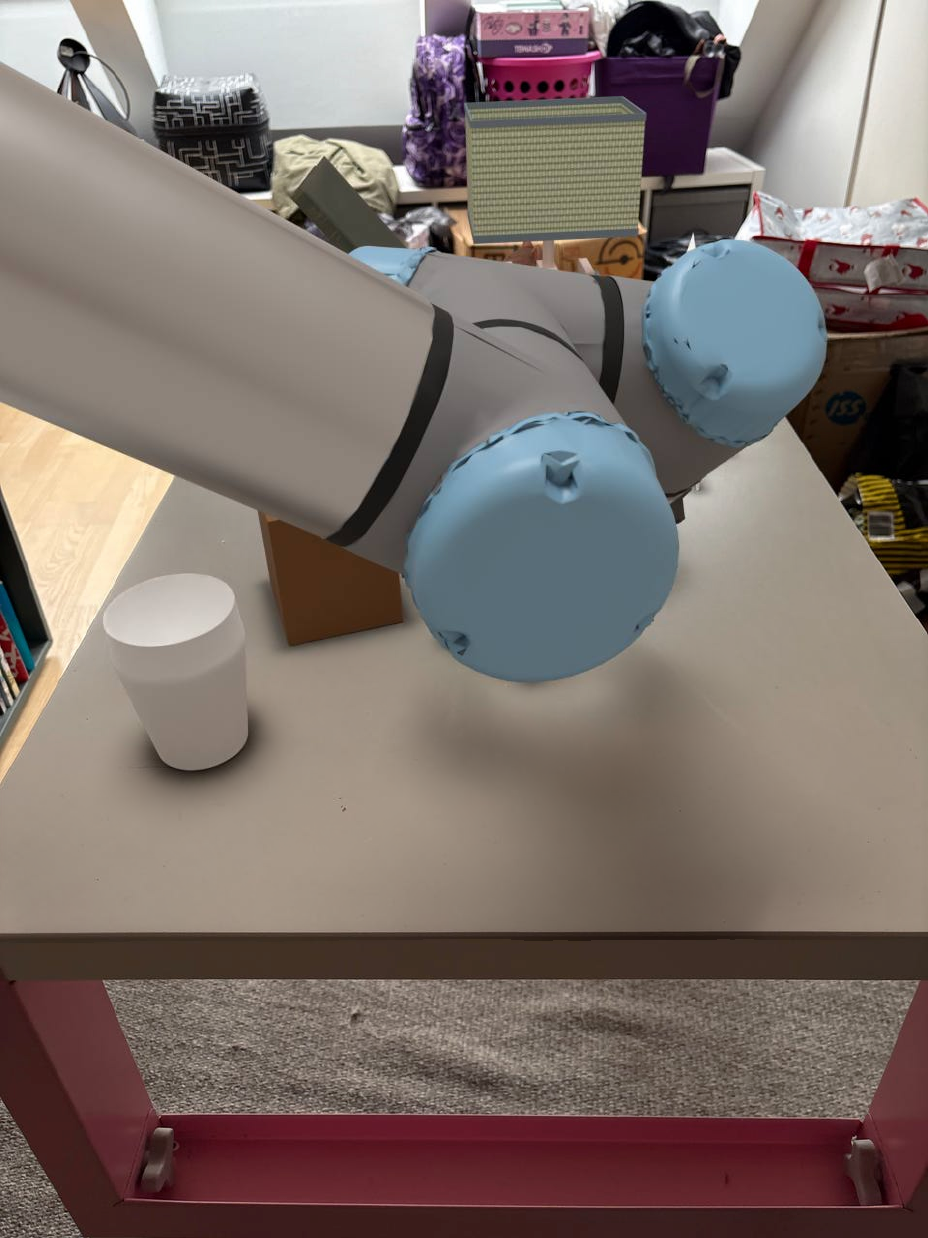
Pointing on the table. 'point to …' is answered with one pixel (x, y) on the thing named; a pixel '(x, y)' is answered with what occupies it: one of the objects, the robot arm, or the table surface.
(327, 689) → the table surface
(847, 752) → the table surface
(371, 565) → the brown tall block
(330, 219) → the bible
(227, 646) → the cup
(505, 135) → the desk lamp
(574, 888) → the table surface
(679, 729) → the table surface
